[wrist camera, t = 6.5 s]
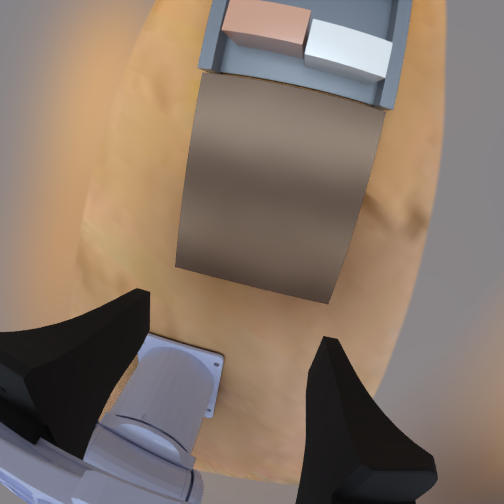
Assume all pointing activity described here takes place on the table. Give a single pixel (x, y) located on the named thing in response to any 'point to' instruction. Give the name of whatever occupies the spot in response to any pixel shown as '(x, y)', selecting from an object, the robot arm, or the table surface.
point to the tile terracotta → (268, 26)
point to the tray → (291, 68)
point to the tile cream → (347, 52)
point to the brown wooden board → (274, 184)
